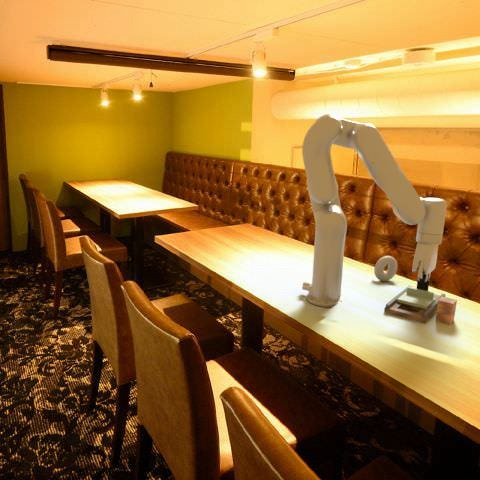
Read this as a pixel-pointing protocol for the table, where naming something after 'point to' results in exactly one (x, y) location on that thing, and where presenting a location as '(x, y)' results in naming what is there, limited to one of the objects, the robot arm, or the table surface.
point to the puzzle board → (411, 309)
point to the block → (446, 310)
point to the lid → (417, 298)
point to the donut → (390, 271)
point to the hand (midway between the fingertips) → (421, 291)
